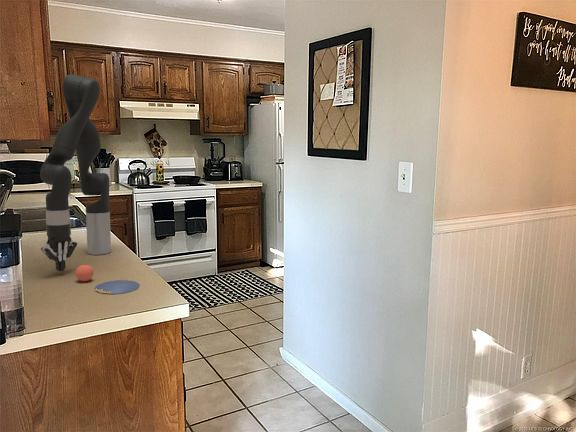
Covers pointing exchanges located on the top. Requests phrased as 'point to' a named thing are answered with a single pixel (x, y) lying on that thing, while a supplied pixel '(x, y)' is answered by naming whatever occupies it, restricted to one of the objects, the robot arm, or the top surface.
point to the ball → (84, 273)
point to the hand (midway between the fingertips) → (61, 270)
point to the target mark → (118, 286)
